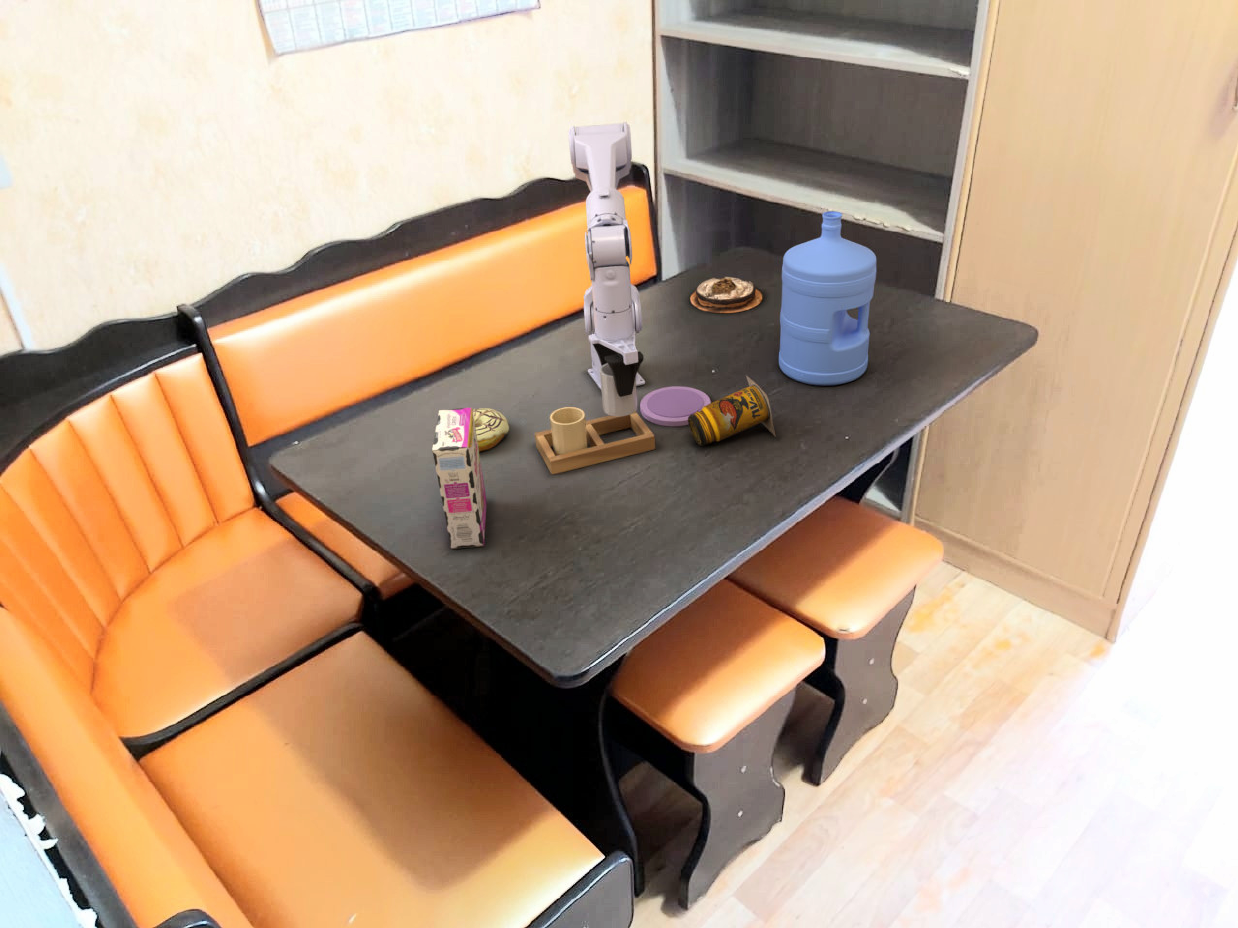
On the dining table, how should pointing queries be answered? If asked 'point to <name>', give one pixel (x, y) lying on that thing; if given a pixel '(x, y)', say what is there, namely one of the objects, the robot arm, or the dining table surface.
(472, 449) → the candy bar box
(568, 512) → the dining table surface
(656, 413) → the lavender plate
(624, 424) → the cup rack
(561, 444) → the beige cup
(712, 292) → the cake on plate
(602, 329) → the robot arm
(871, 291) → the water jug
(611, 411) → the steel cup
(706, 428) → the condiment
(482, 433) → the decorated donut
